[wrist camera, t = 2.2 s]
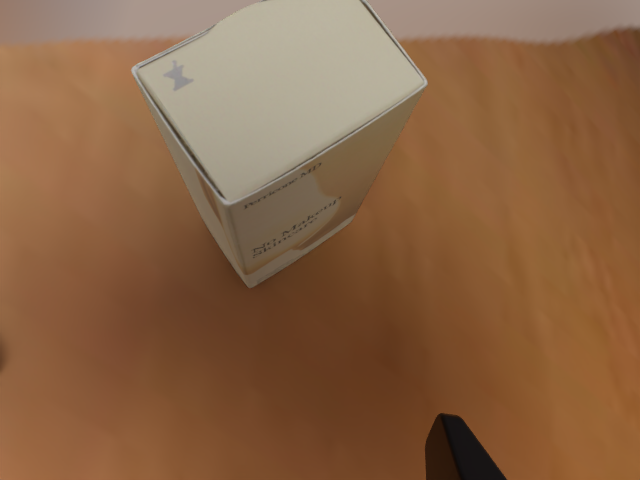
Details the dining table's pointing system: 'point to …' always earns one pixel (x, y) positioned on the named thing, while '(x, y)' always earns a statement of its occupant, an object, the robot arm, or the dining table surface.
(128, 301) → the dining table surface
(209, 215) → the skincare box
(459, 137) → the dining table surface
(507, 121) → the dining table surface
